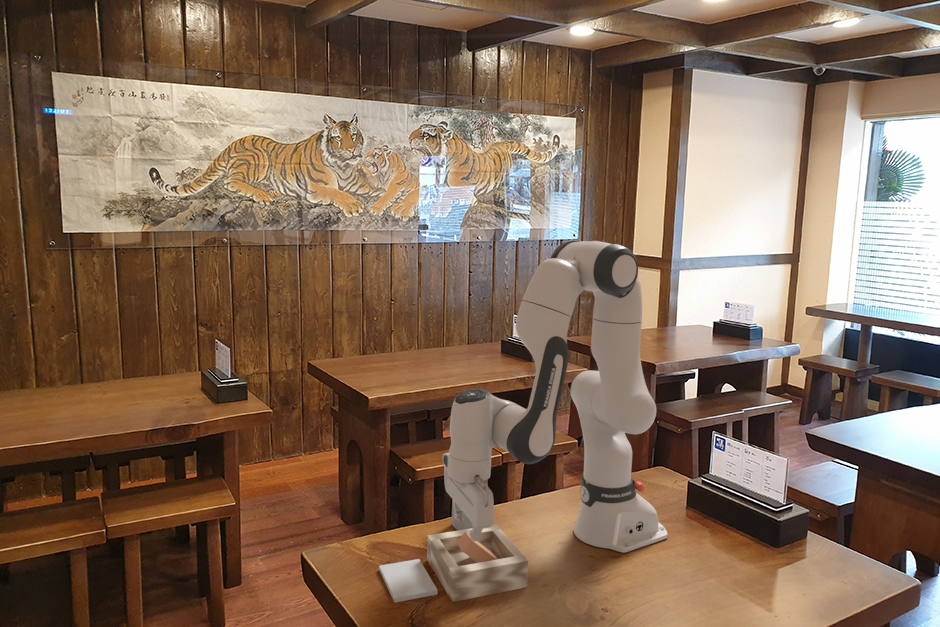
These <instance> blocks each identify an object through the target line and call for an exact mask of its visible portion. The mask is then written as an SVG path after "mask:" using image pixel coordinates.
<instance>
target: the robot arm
mask: <svg viewBox="0 0 940 627" xmlns="http://www.w3.org/2000/svg"><path fill="white" fill-rule="evenodd" d="M638 276H639V265H638V261H637V257H636V255H635V254H634V252H633V251H632V250H630V249H629V248H628V247H625V246H624V245H621V244H617V243H608V242H604V241H600V240H591V241H590V240H589V241H587V240H586V241H585V240H583V241H580V240H575V239H574V240H568V241H566V242H563V243H561V244H559V245H558V246H557V247H556V248H555V249H554V251H553V253H552V254H551V256H550V258H546V259H545V260H542V262H540V263H539V265H538V267H537V268H536V269H535V272H534V273H533V276H532V277H531V279H530V281H529V283H528V285H527V288H526V290H525V292H524V295H523V297H522V300H521V302H520V306H519V308H518V312H517V315H516V322H515V323H516V324H515V330H516V333H517V336H518V338H519V340H520V341H521V343H522V344H523V345H524V347H525V348H526V349H527V350H528V351H529V353H530V355H531V357H532V358H533V361H534V365H535V376H534V380H533V384H532V389H531V393H530V396H529V402H528V406H527V408H525V407H523V406H521V405H519V404H517V403H515V402H513V401H510V400H506V399H503V398H500V397H497V396H495V395H493V394H492V393H490V391H488V390H486V389H481V388H471V389H466V390H463V391H461V392H459V393H458V394H457V395H456V396H455V397H454V400H453V403H452V406H451V411H450V420H449V421H450V422H449V436H450V442H451V443H450V446H449V450H448V452H445V453H443V454H442V463H443V465H444V468H443V474H444V475H443V476H444V478H443V479H444V488H445V491H446V493H447V494H448V495H449V497H450V498H451V500H452V499H453V505H454V510H455V518H456V520H457V521H463V520H464V516H465V515H466V516H467V517H468V519H469V520H470V521H471V522H472V526H473V528H472V530H470V538H471V539H472V540H473V541H479V540H480V539H481V532H482V530H483V528H489V527H492V525H494V522H495V519H494V518H495V515H494V514H495V509H494V508H495V507H494V506H495V505H494V494H493V492H492V490H491V489H490V487H489V486H488V484H487V482H486V481H488V480H489V479H490V478H491V468H492V451H493V449H494V448H498V447H499V448H501V449H502V450H504V451H506V452H507V453H508V454H510V455H511V456H512V457H513V458H515V459H516V460H518V461H519V462H520V463H521V464H525V465H532V464H536V463H539V462H541V461H542V460H543V459H545V458H546V457H548V455H550V453H551V451H552V450H553V448H554V446H555V441H556V434H557V417H558V412H559V407H560V403H561V398H562V394H563V388H564V384H565V380H566V374H567V370H568V369H567V368H568V363H569V356H570V353H569V352H570V350H569V345H568V332H569V326H570V322H571V318H572V316H573V313H574V309H575V306H576V302H577V299H578V297H579V296H580V295H581V293H582V292H585V291H586V292H592V294H593V297H594V304H593V312H592V322H591V323H592V326H591V338H590V339H591V342H590V352H591V354H592V357H593V359H594V360H595V362H596V365H597V370H591V369H590V370H584V371H581V372H580V373H579V374H577V375H576V376H575V377H574V379H573V380H572V382H571V386H570V396H571V397H570V398H571V399H572V401H573V404H574V405H575V407H576V410H577V413H578V417H579V420H580V421H579V422H580V427H581V431H582V439H583V445H584V446H583V448H584V455H583V457H584V458H583V461H584V462H583V473H582V475H581V482H580V506H579V511H578V515H577V520H576V523H575V525H574V528H573V533H574V536H575V537H576V538H577V539H579V540H580V541H582V542H583V543H585V544H588V545H590V546H593V547H597V548H601V549H610V550H612V551H615V552H618V553H622V554H623V553H628V552H631V551H635V550H636V549H640V548H642V547H646V546H649V545H651V544H655V543H657V542H660V541H663V540H666V539H667V538H668V536H669V534H668V531H667V529H666V528H665V526H664V525H662V523H660V522H659V516H658V512H657V510H656V508H655V507H654V506H653V505H652V504H651V503H650V502H649V501H647V500H646V499H644V497H642V496H641V495H640V494H638V492H639V493H643V492H645V491H646V485H645V484H644V483H643V482H641V481H640V480H639V481H636V480H635V479H634V478H633V477H632V464H633V449H632V445H631V443H630V441H629V440H628V438H627V435H626V434H630V435H640V434H643V433H645V432H647V431H648V430H649V429H650V428H651V426H652V425H653V423H654V422H655V419H656V416H657V405H656V402H655V400H654V398H653V397H652V395H651V394H650V391H649V390H648V387H647V383H646V380H645V375H644V371H643V367H642V360H641V337H642V336H641V334H642V322H643V295H642V287H641V282H640V280H639V278H638ZM636 490H637V491H638V492H637V491H636Z"/></svg>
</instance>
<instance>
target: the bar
mask: <svg viewBox="0 0 940 627" xmlns="http://www.w3.org/2000/svg"><path fill="white" fill-rule="evenodd" d="M456 543H457V545H458V546H459V547H460V549H461V550H462V551H463V552H464V553H465V554H466V555H468V556H469V557H470V558H472V559H473V560H474V561H476V562H477V563H480V562H486V561H491V560H497V559H499V558H498V557H497V556H496V555H495V554H494V553H492V552H491V551H490V550H488V549H487V548H486V547H484V546H483V545H482V544H481V543H479V542H478V541H473V540H472V539H471V538H470V535H469V534H468V533H466V532H465V533H464V534H463V535H462V536H461V537H460V539H459V540H458V541H457V542H456Z"/></svg>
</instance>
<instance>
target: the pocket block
mask: <svg viewBox="0 0 940 627" xmlns="http://www.w3.org/2000/svg"><path fill="white" fill-rule="evenodd" d="M470 530H472V528H470V529H464V530H453V531H446V532H440V533H433V534H427V536H426V537H427V538H426V539H427V541H426V542H427V543H426V545H427V546H426V547H427V548H426V551H427V552H426V560H427V563H428V565H429V566H430V568H431V569H432V571H433V573H434V572H435V573H434V574H435V576H436V577H437V579H438V580H439V583H440V584H441V586H442V587H443V589H444V590H445V592H446V594H447V596H448V598H450V600H451V602H452V603H453V602H458V601H459V602H460V601H464V600H470V599H475V598H480V597H484V596H491V595H495V594H500V593H506V592H511V591H514V590H521V589H524V588H528V575H529V574H528V573H529V572H528V570H529V560H528V559H527V558H526V556H525V555H524V554H523V553H522V552H521V550H520V549H519V548H518V547H517V546H516V545H515V544H514V543H513V541H512V540H511V539H510V538H509V537H508V536H507V535H506V534H505V532H504V531H503V530H502V529H501V528H500V527H499V526H498V524H493V525H492V527H489V528H483V530H482V532H481V539H480V540H479V541H478V542H479V543H481V544H482V545H483V546H484V547H486V548H487V549H488V550H490V551H491V552H492V553H494V554H495V555H496V556H497V557H498V558H499V559H497V560H491V561H486V562H480V563H477V562H476V561H474V560H473V559H472V558H470V557H469V556H468V555H466V554H465V553H464V552H463V551H462V550H461V549H460V547H459V546H458V545H457V543H456V542H457V541H458V540H459V539H460V537H461V536H462V535H463V534H464V533H465V532H466V533H468V534H469V535H470Z"/></svg>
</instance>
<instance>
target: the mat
mask: <svg viewBox="0 0 940 627" xmlns="http://www.w3.org/2000/svg"><path fill="white" fill-rule="evenodd" d="M378 570H379V572H380V575H381V576H382V579H383V581H384V584H385V586H386V587H387V589H388V591H389V594H390V596H391V598H392V601H393V602H394V603H400V602H405V601H410V600H417V599H420V598H426V597H432V596H436V595H438V594H439V593H438V588H437V586H436V585H435V583H434V582H433V579H432V578H431V576H430V574H429V573H428V571H427V569H426V568H425V566H424V565H423V563H422V561H421V559H420V558H418V559H417V558H415V559H411V560H404V561H398V562H394V563H387V564H381V565H378Z"/></svg>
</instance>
